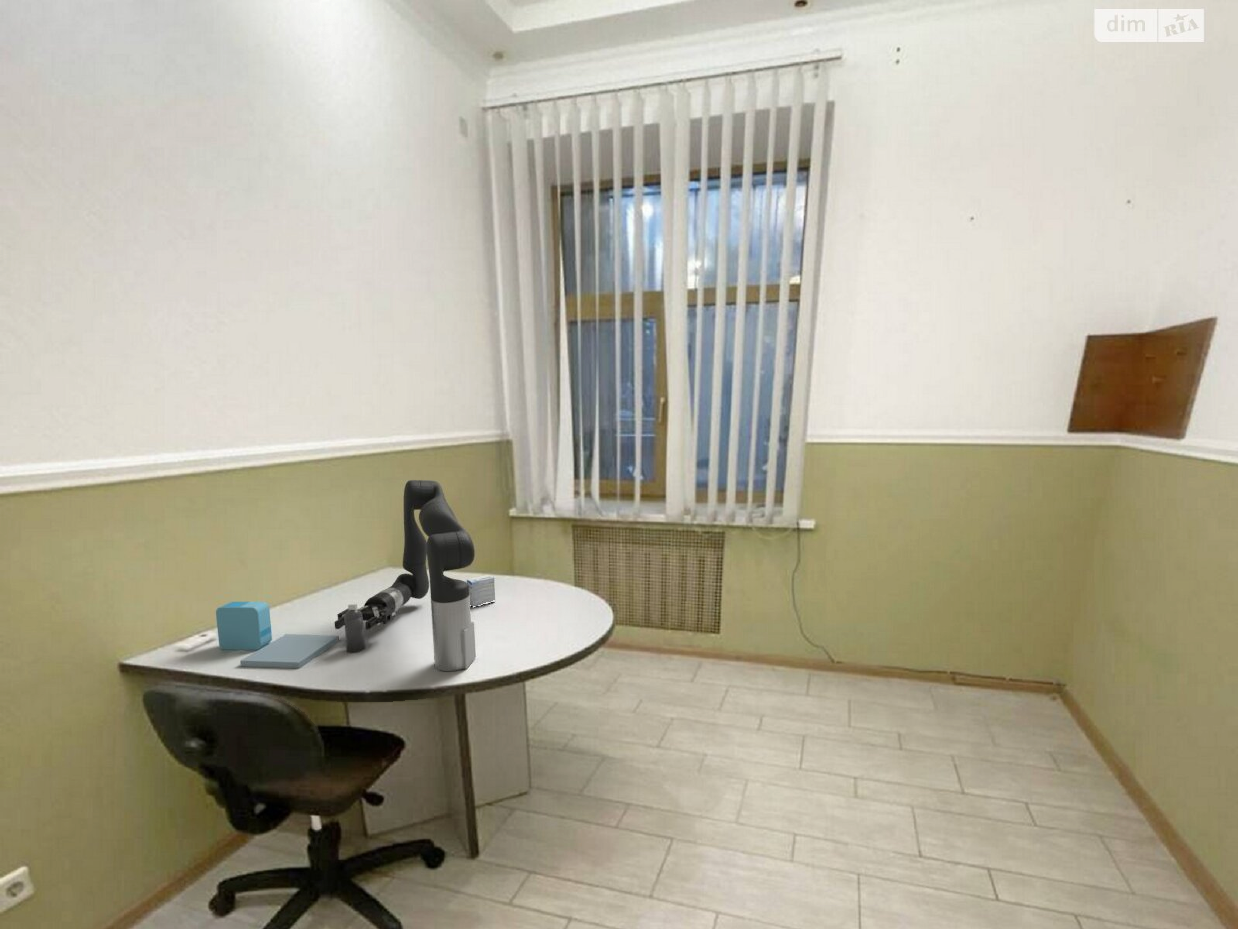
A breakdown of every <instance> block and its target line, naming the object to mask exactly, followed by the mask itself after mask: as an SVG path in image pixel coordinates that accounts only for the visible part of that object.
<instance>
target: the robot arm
mask: <svg viewBox="0 0 1238 929" xmlns="http://www.w3.org/2000/svg"><path fill="white" fill-rule="evenodd" d="M415 510H417V511H418V510H419V513H418V521H419V524H420V527H421V529H422V530H421V529H420V527H419V524H418V523H417V521H416V517H415ZM422 531H423V532H422ZM403 533H404V534H403V536H404V537H403V538H404V542H403V545H404V546H403V553H402V555H403V556H402V568H403V569H404V570H405V571H407V572H408V573H406V572H405V573H400V574H398V576H397V577H396V578H395V580H394V582H393V584H392V585H390V586H389V587H387V588H385V589H382V590H381V591H379V592H378V593H376V594H374V595H372V596H371V597H369V598H368V599H367V600H366V601H365V602H364V605H363V606H361V607H359V608H358V609H359V610H360V611H361V612H362V614H363V622H364V630H366V631H369V630H371V629H372V628H375V626H380V625H381V624H382V625H387V624H389V623H390V622H391V621H392V620H393V619H394V618H396V616H397V615H396V612H398V610H399V609H401V607H403V606H404V605H405V604H407V603H408V602H409V601H410V599H411V598H412V599H415V600H420V599H423V598H425V597H426V596H427V594H428V592H429V591H430V604H431V605H430V606H431V607H430V609H431V625H432V641H433V643H432V644H433V645H432V646H433V659H434V667H435V669H436V670H439V671H442V672H453V671H459V670H462V669H466V670H468V667H470V665H471V664H472V663H473V662H474V661H475V659H476V658H475V657H477V656H476V655H477V654H476V634H475V623H474V621H472V618H471V617H472V615H471V606H470V595H469V594H470V593H469V585H468V583H467V581H465V580H461V579H457V578H451V577H448V576H447V575H444V572H448V571H455V570H461V569H465V568H468V567H470V566H471V565H472V563H473V562H474V560H475V554H476V552H475V545H474V543H473V539H472V538H471V535H470V534H469V533H468V532H467V530H466V529H465V528H464V527H463V526H462V525H461V524H460V523H459V521H458V518H457V517H456V515H455V513H454V511H453V510H452V508H451V507H450V505H449V504H448V502H447V499H446V497H445V493H444V491H443V488H442V486H441V484H440V483H439V482H438V481H434V480H422V479H421V480H420V479H411V480H408V481H407V482H406V483H405V485H404V490H403ZM424 534H425V535H426V536H428V538H427V539H426V537H425V536H424ZM426 563H427V564H426ZM427 566H428V568H427ZM427 570H428V571H427ZM429 589H430V590H429ZM347 611H349V609H348V608H345V610H343V611H341V612H339V613H337V615H336V616H337V620H335V621H334V622H333V623H334V628H335V630H340V629H341V628H343V627H345V621H344V616H345V614H346V612H347ZM472 661H473V662H472Z"/></svg>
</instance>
